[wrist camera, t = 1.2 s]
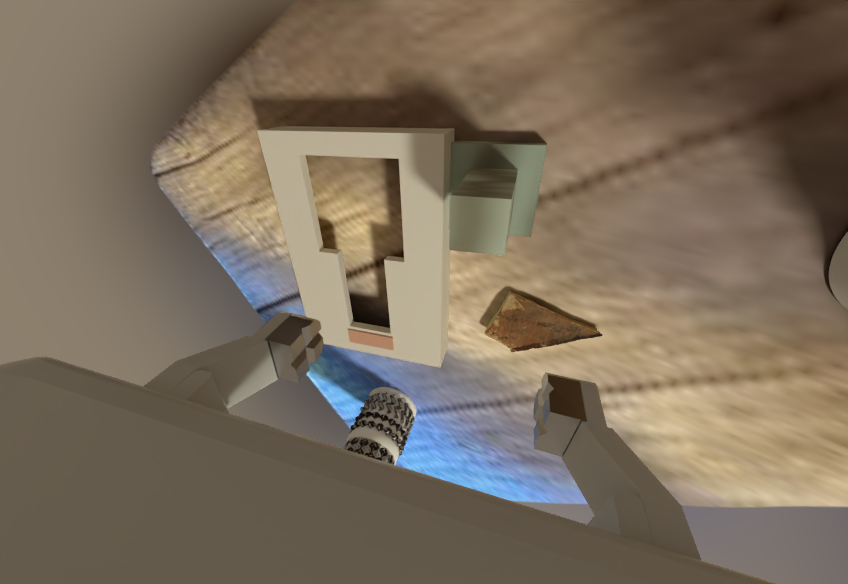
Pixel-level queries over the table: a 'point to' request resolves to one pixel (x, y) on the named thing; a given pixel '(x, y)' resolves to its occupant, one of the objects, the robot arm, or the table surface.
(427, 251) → the keyhole plate
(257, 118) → the table surface
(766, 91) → the table surface
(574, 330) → the shard
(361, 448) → the decorative candle
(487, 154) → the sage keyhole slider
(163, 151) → the table surface
